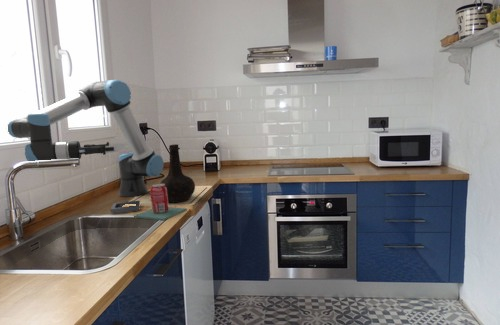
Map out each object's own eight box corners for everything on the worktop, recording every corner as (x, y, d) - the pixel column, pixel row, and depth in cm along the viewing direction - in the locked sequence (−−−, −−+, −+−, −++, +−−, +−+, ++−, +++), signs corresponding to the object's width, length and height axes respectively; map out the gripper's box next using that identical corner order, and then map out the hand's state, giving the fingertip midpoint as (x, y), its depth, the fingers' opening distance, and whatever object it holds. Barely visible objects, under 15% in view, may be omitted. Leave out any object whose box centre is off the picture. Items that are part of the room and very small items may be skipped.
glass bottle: (167, 206, 170) (162, 147, 166) (154, 200, 185) (149, 145, 181) (202, 200, 180) (197, 143, 176) (187, 194, 195) (183, 142, 191)
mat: (158, 207, 169) (158, 206, 169) (186, 210, 162) (186, 208, 162) (133, 217, 155) (133, 215, 155) (163, 220, 148) (163, 218, 148)
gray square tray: (113, 207, 174) (113, 203, 174) (139, 204, 177) (139, 200, 177) (111, 214, 162) (110, 209, 162) (139, 210, 165) (138, 206, 165)
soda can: (162, 208, 163) (159, 182, 162) (172, 211, 159) (169, 183, 157) (148, 212, 158) (146, 185, 156) (158, 215, 153) (156, 187, 152)
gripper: (76, 156, 161) (126, 152, 167) (63, 163, 137) (122, 158, 143) (74, 139, 160) (125, 136, 166) (61, 143, 136) (120, 139, 142)
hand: (124, 146), depth 154 cm, fingers open, 13 cm apart
